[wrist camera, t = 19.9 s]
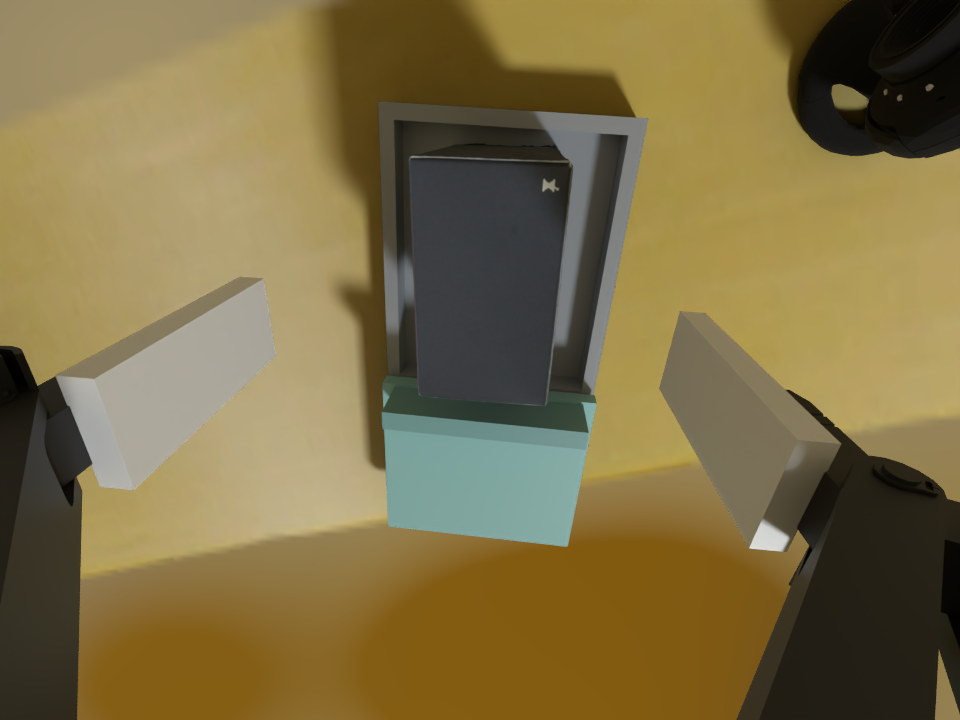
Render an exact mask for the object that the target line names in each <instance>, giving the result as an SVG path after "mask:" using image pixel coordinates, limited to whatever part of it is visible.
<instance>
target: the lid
mask: <svg viewBox="0 0 960 720" xmlns="http://www.w3.org/2000/svg"><path fill="white" fill-rule="evenodd" d="M382 388H383V410H382V429H384V436H385V460H386V484H387V507H388V526H390V527H399V528H408V529H417V530H426V531H435V532H443V533H452V534H461V535H470V536H478V537H487V538H496V539H505V540H515V541H523V542H532V543H540V544H549V545H557V546H568V541H569V536H570V531H571V527H572V522H573V517H574V512H575V507H576V502H577V497H578V492H579V487H580V482H581V478H582V473H583V468H584V463H585V458H586V453H587V448H588V443H589V438H590V433H591V428H592V424H593V419H594V414H595V409H596V404H597V403H596V399H595V395H587V394H576V393H566V392H556V391H549V394H548V403H547V405H546V406H536V405H522V404H508V403H495V402H481V401H469V400H456V399H444V398H433V397H426V396H420V395H419V394H418V383H417V378H410V377H399V376H389V375H386V377H385V379H384V381H383V382H382Z"/></svg>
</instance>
